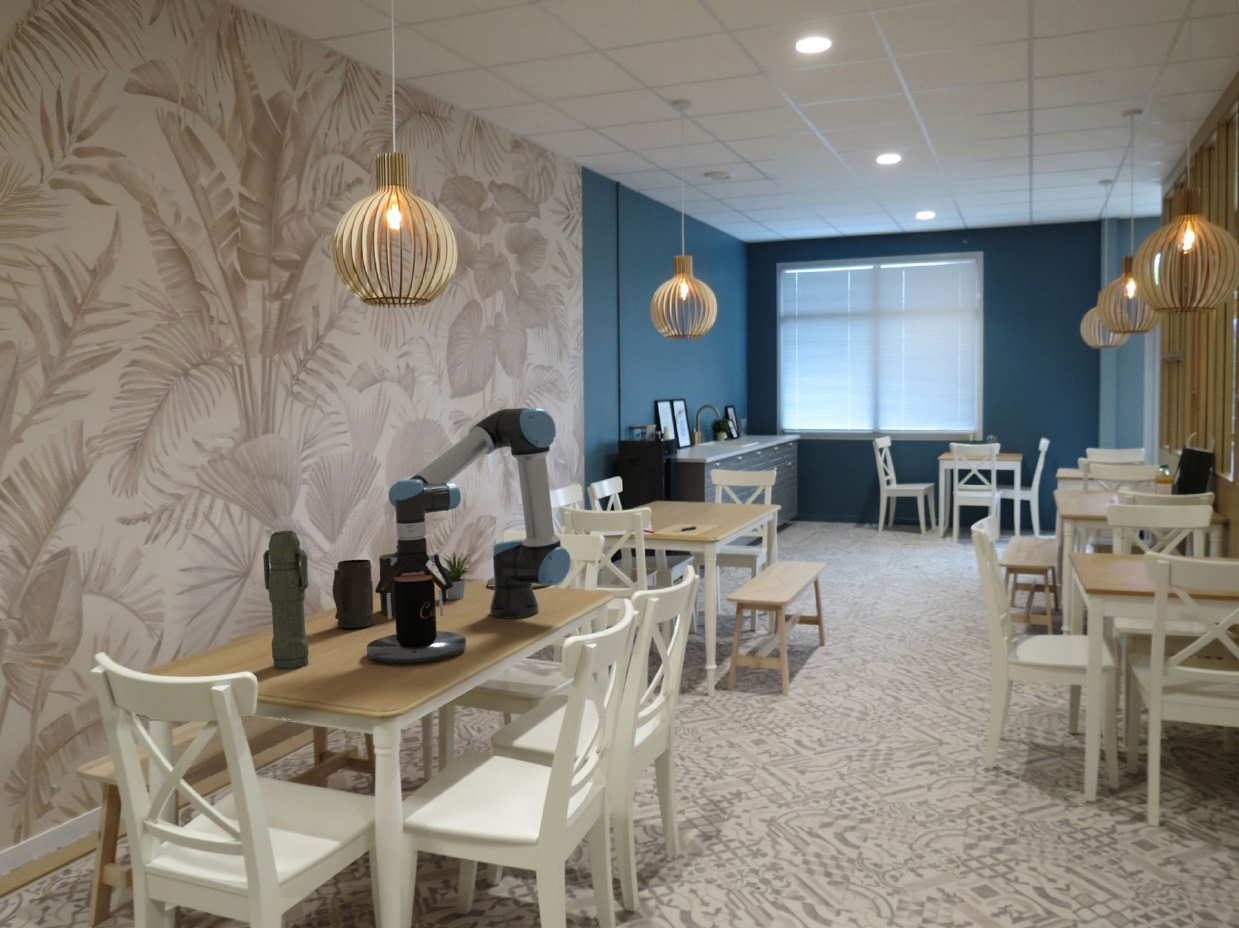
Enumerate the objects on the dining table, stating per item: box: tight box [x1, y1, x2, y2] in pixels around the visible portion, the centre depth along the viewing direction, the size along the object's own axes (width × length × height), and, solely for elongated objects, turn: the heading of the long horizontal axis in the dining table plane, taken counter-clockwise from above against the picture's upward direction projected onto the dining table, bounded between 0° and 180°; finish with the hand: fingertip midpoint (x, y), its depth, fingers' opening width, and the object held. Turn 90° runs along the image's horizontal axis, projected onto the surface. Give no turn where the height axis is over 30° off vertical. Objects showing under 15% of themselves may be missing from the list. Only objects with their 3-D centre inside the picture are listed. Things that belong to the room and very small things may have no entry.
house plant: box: [431, 551, 475, 601], centre depth 339 cm, size 14×14×16 cm
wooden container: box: [379, 544, 423, 616], centre depth 319 cm, size 15×15×22 cm
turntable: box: [366, 630, 467, 664], centre depth 264 cm, size 26×26×7 cm
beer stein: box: [332, 559, 374, 629], centre depth 298 cm, size 15×11×20 cm
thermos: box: [262, 530, 309, 671], centre depth 255 cm, size 9×12×35 cm
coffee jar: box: [394, 572, 438, 646], centre depth 263 cm, size 11×11×18 cm
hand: (415, 616), depth 263 cm, fingers open, 13 cm apart
